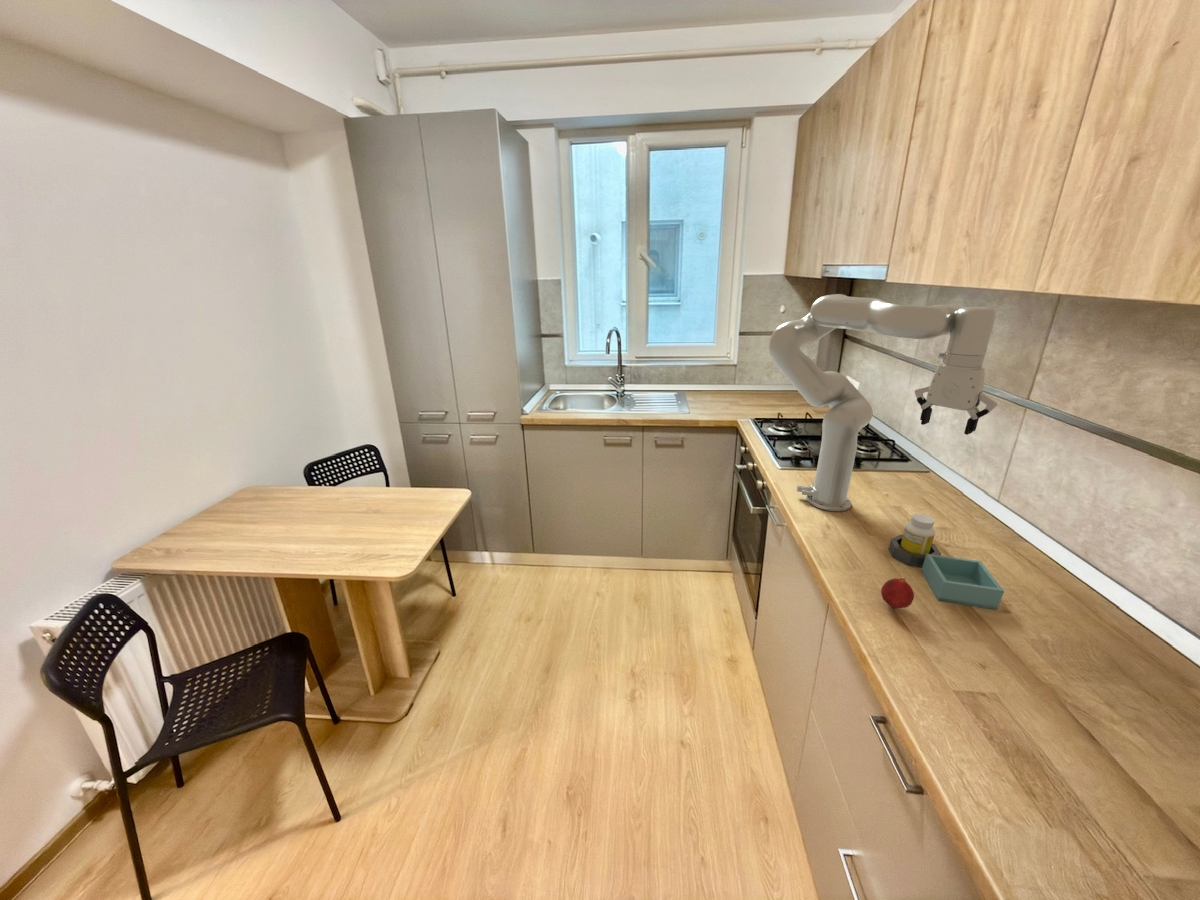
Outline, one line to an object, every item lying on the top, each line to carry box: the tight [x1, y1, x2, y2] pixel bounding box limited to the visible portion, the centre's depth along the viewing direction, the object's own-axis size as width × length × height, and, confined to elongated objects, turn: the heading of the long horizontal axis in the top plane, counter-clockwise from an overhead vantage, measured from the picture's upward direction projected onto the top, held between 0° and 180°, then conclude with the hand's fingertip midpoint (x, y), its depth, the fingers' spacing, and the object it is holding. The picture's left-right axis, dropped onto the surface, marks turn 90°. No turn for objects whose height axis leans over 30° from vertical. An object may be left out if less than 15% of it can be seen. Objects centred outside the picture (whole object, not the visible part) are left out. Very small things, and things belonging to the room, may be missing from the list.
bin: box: [920, 554, 1005, 611], centre depth 105 cm, size 11×11×5 cm
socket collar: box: [887, 533, 942, 569], centre depth 118 cm, size 10×10×3 cm
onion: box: [880, 576, 915, 610], centre depth 99 cm, size 6×6×8 cm
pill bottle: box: [900, 513, 936, 555], centre depth 116 cm, size 6×6×11 cm
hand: (945, 428), depth 118 cm, fingers open, 9 cm apart
